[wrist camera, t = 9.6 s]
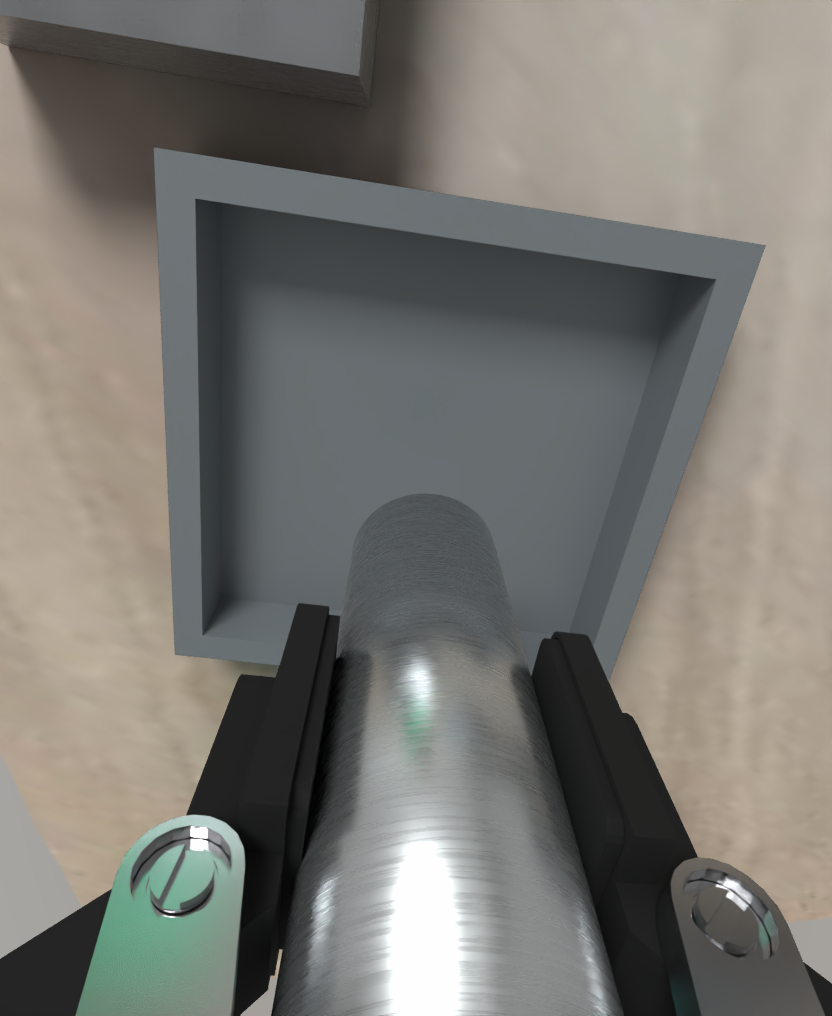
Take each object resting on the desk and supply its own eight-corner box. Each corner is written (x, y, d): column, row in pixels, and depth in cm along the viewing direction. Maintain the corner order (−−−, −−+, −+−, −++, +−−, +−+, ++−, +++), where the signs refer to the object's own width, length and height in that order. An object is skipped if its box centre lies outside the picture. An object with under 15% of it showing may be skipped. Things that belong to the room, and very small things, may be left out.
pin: (509, 503, 14) (1012, 1874, 2) (481, 625, 16) (705, 1844, 4) (359, 484, 14) (87, 1904, 2) (346, 610, 16) (139, 1863, 4)
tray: (714, 241, 19) (766, 245, 16) (581, 648, 25) (601, 699, 23) (193, 158, 18) (153, 147, 15) (200, 606, 24) (175, 654, 22)
